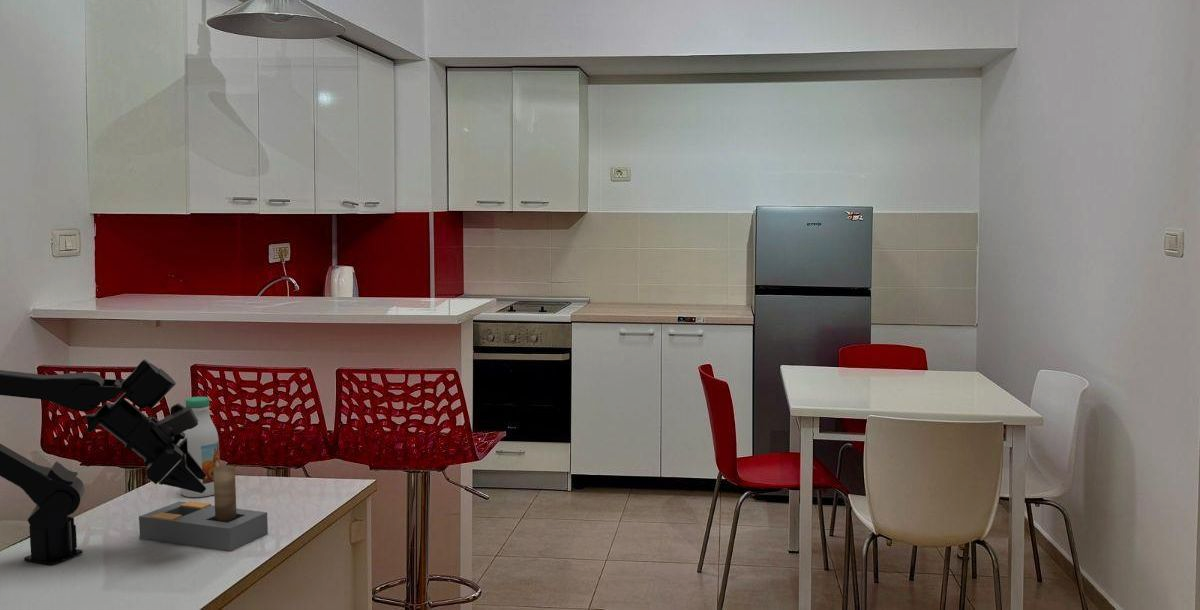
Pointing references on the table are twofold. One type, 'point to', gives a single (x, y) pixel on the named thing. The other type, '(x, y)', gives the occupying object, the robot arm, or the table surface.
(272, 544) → the table surface
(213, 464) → the milk bottle
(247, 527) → the grey peg socket base
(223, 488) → the walnut peg
